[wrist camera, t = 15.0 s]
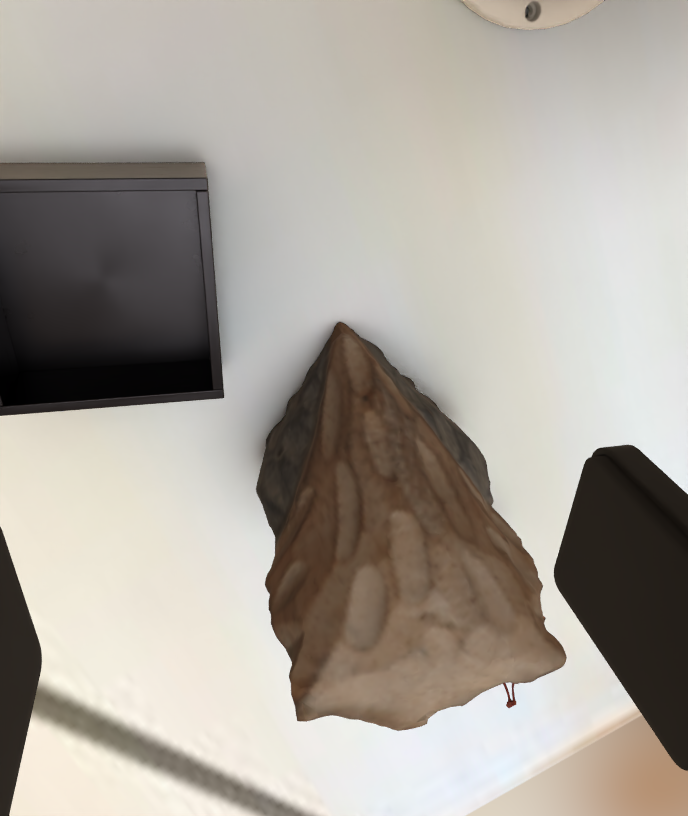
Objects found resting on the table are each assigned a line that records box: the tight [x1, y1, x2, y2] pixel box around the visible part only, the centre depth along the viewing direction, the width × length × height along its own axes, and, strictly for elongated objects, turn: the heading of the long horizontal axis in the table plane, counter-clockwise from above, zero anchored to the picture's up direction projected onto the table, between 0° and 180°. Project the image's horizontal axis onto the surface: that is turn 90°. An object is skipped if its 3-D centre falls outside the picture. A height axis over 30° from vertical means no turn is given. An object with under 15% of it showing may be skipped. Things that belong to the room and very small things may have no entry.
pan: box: [0, 162, 224, 416], centre depth 33 cm, size 12×12×4 cm
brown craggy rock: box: [256, 322, 567, 731], centre depth 36 cm, size 13×13×20 cm
